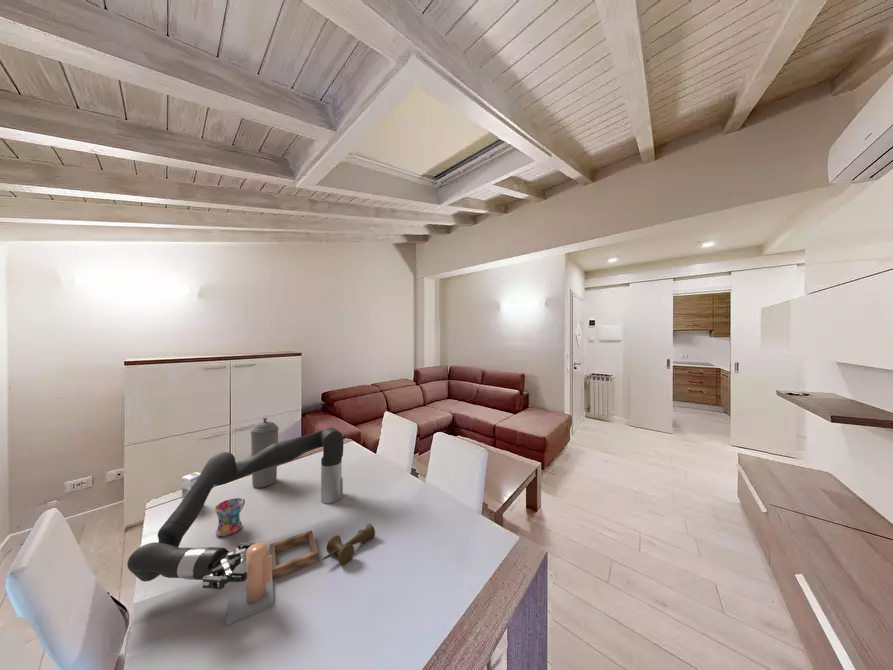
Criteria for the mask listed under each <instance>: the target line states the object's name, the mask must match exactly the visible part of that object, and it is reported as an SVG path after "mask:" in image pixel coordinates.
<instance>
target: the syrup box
mask: <svg viewBox="0 0 893 670" xmlns="http://www.w3.org/2000/svg"><path fill="white" fill-rule="evenodd" d="M200 474H201V472H196V471H193V472H192V473H189V474H186V475H184V476H182V477H181V502H182V501H183V499H184V498H185V497H186V495H187V494H188V492H189V491H190V489H191V488H192V486H193V485H194V483H195V482H196V480H197V479H198V477H199V476H200Z"/></svg>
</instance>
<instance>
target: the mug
mask: <svg viewBox="0 0 893 670" xmlns="http://www.w3.org/2000/svg"><path fill="white" fill-rule="evenodd" d="M245 502H246V500H245V498H241V497H240V498H239V497H234V498H228V499H226V500H223V501H221V502H219V503H218V504H217V505H216V506H215V507H214V512H215V513H216V515H217V519H218V520H217V521H218V524H217V529H216V530H215V535H216V536H218V537H227V536H230V535H232V534H234V533H236V532H237V531H239V530H240V529H241V528H242V526H243V523H242V521H241V518H240V514H241V512H242V510H243V508H244V506H245V504H246V503H245Z"/></svg>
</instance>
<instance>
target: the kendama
mask: <svg viewBox="0 0 893 670" xmlns="http://www.w3.org/2000/svg"><path fill="white" fill-rule="evenodd" d="M375 536H376V530H375V527H374V526H373V525H372V524H371V523H367V525H366V526H365V528H364V529H358V532H357V534H355V536H353V537H352V538H351V539H349V540H348V541H347V542H346V543H344V544H343V543H342V538H341V536H340V535H334V536H332V537H331V538H329V539H328V541H327V544H326V552H327V553H328V554H327V555H325V556H324V557H322V560H323V561H324V560H327V559H329V558H330V557H332V556H334V555H337V556H338V563H339V564H340V566H345V565H346V564H348V563H349V562H351V560H352V559H353V557H354V555H355V546H354V545H356V544H360V543H361V544H363V543H365V542H366V540H369V539H371V540H372V539H374V538H375Z"/></svg>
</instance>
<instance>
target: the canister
mask: <svg viewBox="0 0 893 670" xmlns="http://www.w3.org/2000/svg"><path fill="white" fill-rule="evenodd" d="M268 418H269V417H262V420H263V421H261V422H259V423H257V424H256V425H255V426H254V427H253V428H252V429H251V431H250V439H251V440H250V443H251V444H250V447H251V457H252V456H254V455H256V454H257V453H259V452H260V451H262V450H263V449H265V448H266V447H268V446H270V445H272V444H275V443H278V442H279V426H278V425H277V424H276V423H275V422H274V421H272V420H271V421H268ZM277 473H278V465H276V466H272V467H269V468H266V469H263V470H260V471H257V472H254V473H251V481H252V482H251V483H252V487H253V488H257V489H258V488H266V487H269V486H271V485H273V484H275V483H276V482H277V480H278V479H277V478H278V475H277Z"/></svg>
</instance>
